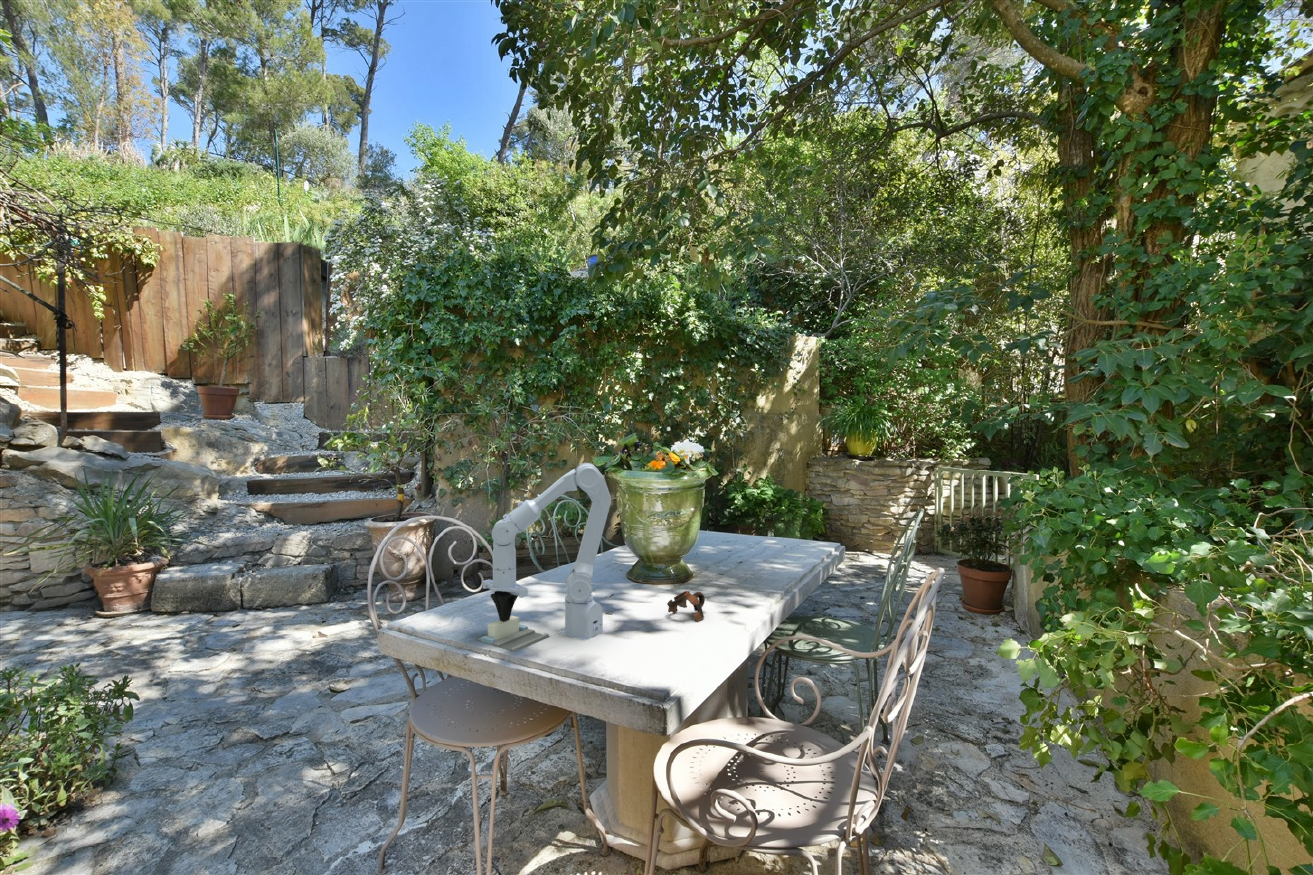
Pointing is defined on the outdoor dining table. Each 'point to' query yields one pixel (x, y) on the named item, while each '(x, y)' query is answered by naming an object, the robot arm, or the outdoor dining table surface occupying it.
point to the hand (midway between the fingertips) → (504, 620)
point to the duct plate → (516, 639)
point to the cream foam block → (503, 628)
